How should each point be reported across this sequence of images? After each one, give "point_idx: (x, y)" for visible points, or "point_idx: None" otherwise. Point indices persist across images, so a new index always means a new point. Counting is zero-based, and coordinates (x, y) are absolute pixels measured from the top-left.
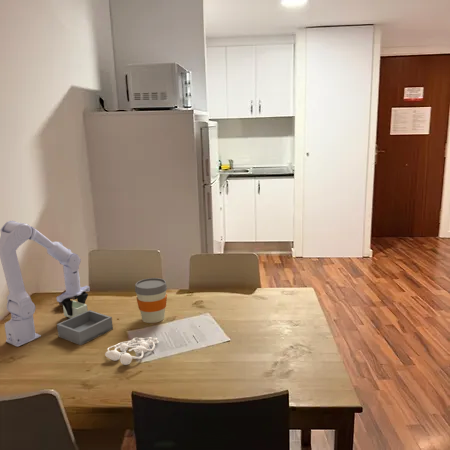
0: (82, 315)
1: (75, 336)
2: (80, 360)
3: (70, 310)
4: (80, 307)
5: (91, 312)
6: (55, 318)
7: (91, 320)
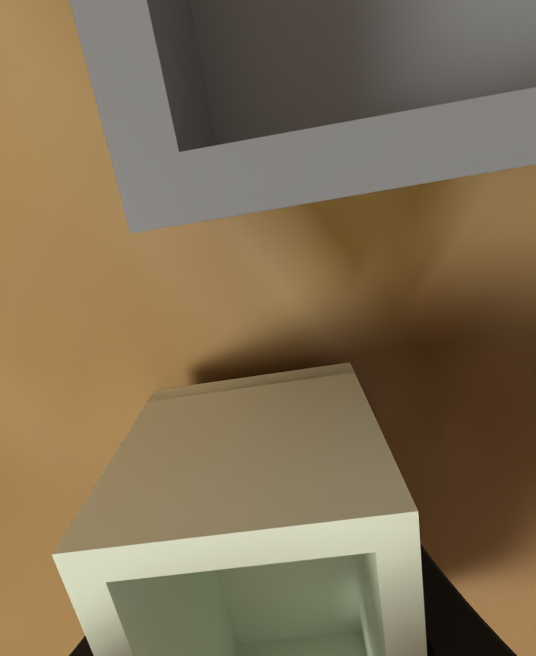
0: (455, 107)
1: None
2: None
3: (459, 600)
4: (280, 526)
5: (158, 32)
6: None
7: (213, 134)
